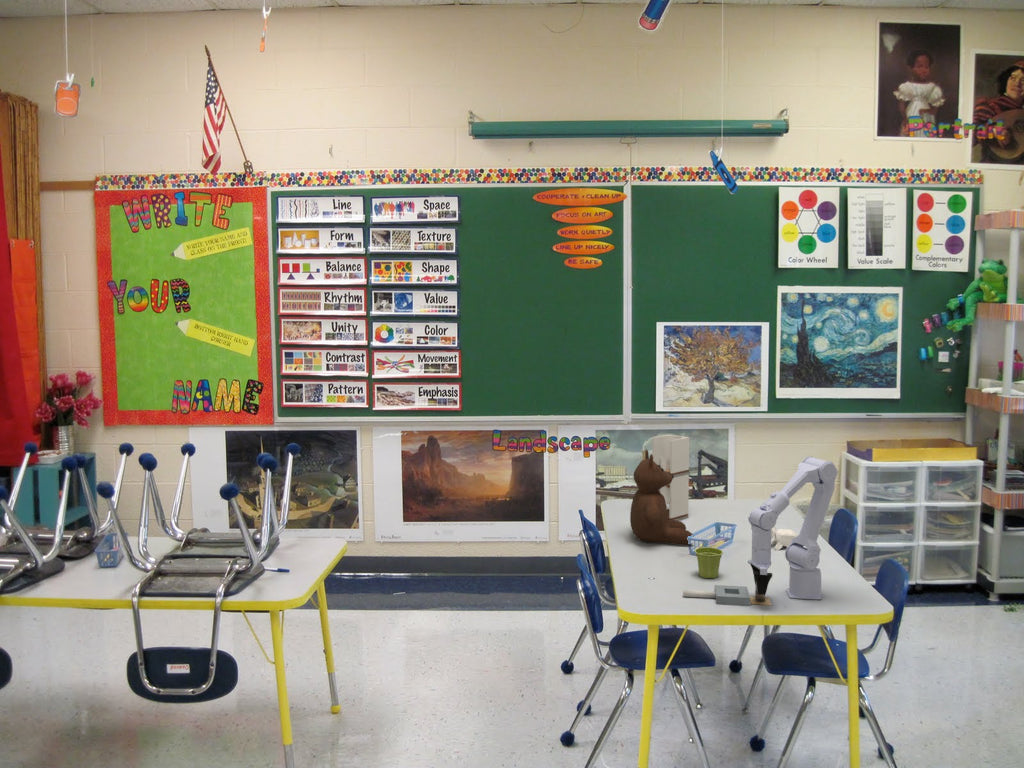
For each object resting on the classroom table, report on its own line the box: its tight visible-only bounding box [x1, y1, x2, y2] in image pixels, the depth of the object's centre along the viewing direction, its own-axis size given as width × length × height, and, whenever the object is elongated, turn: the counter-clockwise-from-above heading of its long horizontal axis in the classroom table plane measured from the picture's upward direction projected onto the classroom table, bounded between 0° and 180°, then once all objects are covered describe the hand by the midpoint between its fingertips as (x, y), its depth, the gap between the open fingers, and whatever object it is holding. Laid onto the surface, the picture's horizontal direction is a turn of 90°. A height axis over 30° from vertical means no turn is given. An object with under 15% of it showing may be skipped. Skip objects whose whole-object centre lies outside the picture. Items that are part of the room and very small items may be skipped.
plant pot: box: [694, 546, 724, 579], centre depth 285 cm, size 9×9×9 cm
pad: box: [749, 595, 772, 607], centre depth 262 cm, size 6×6×1 cm
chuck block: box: [682, 584, 751, 607], centre depth 265 cm, size 20×10×2 cm, turn 80°
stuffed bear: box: [629, 449, 694, 546], centre depth 325 cm, size 29×23×35 cm
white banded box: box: [651, 433, 690, 522], centre depth 356 cm, size 11×11×35 cm
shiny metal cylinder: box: [754, 583, 766, 602], centre depth 261 cm, size 3×3×8 cm
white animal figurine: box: [771, 526, 799, 551], centre depth 317 cm, size 9×8×15 cm
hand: (760, 589), depth 261 cm, fingers open, 7 cm apart
